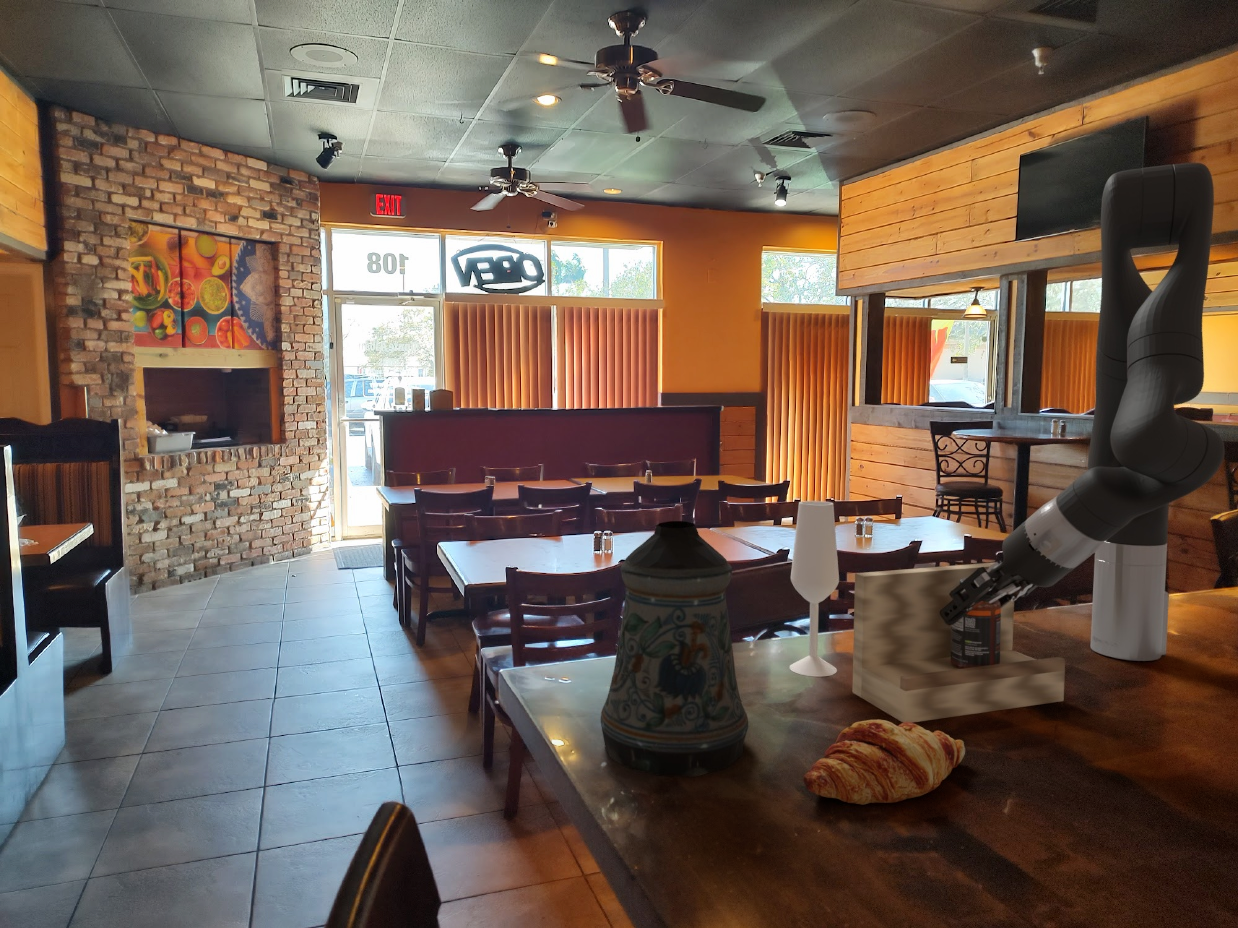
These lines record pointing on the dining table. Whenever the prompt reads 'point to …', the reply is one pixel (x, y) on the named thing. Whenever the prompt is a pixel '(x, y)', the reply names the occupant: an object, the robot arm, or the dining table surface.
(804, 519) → the champagne flute
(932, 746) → the croissant
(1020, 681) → the board
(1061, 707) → the dining table surface
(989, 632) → the supplement bottle
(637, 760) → the beer stein
